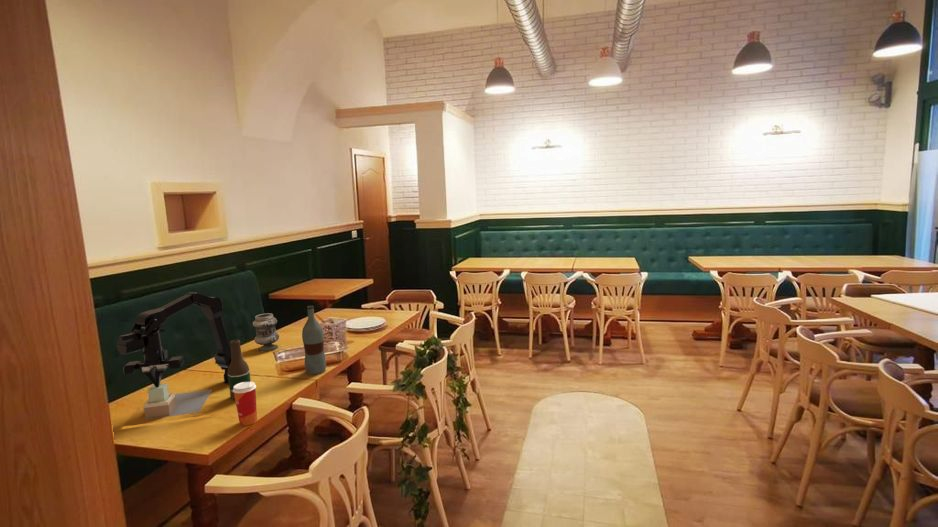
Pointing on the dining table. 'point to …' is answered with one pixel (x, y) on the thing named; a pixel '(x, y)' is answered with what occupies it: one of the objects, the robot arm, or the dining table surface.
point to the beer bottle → (237, 367)
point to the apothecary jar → (265, 332)
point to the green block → (158, 393)
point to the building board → (177, 404)
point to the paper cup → (246, 402)
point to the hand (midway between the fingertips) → (157, 386)
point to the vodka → (313, 344)
